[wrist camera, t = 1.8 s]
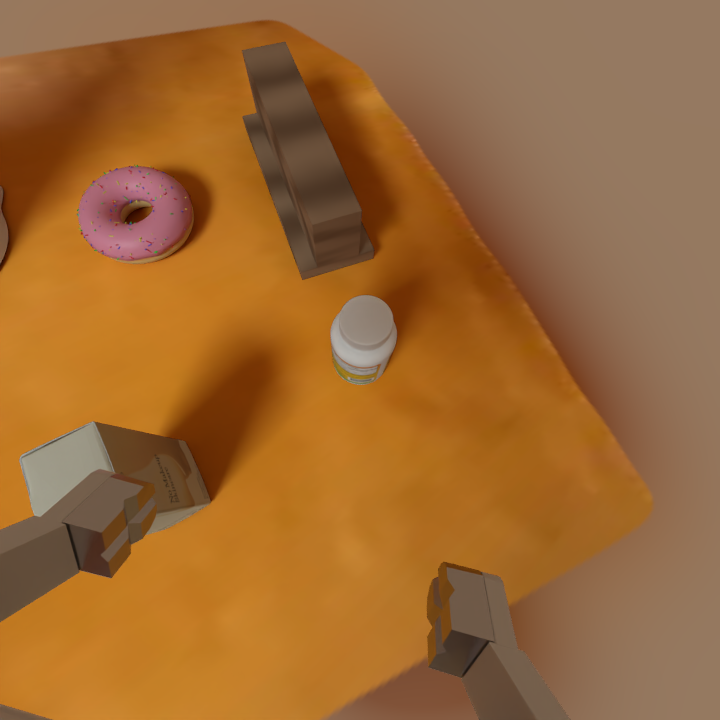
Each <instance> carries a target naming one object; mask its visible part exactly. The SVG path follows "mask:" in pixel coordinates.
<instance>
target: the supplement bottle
mask: <svg viewBox="0 0 720 720" xmlns="http://www.w3.org/2000/svg"><path fill="white" fill-rule="evenodd" d="M396 341H397V329H396V325H395V323H394V321H393V314H392V311H391V309H390V308H389V306H388V305H387V304H386V303H385V302H384V301H383V300H381V299H379V298H377V297H374V296H370V295H362V296H357V297H354V298H352V299H351V300H349V301H348V302H347V303H346V304H345V305H344V306H343V308H342V310H341V312H340V313H339V314H338V315H337V316H336V318H335V319H334V321H333V324H332V327H331V346H332V357H333V363H334V367H335V369H336V371H337V372H338V374H339V375H340V376H341V377H342V378H343V379H344V380H346V381H348V382H350V383H353V384H358V385H363V384H368V383H371V382H374V381H375V380H377V379H378V378H379V377H380V376H381V375H382V374H383V372H384V371H385V369H386V367H387V364H388V362H389V360H390V357H391V355H392V353H393V350H394V348H395V345H396Z"/></svg>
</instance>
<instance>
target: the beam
mask: <svg viewBox="0 0 720 720" xmlns="http://www.w3.org/2000/svg"><path fill="white" fill-rule="evenodd" d="M242 52H243V57H244V61H245V65H246V69H247V73H248V77H249V82H250V86H251V90H252V94H253V98H254V102H255V107H256V111H257V113H255V114H250V115H246V116H243V120H244V124H245V127H246V130H247V133H248V135H249V138H250V141H251V143H252V146H253V149H254V151H255V154H256V157H257V159H258V162H259V165H260V167H261V170H262V173H263V175H264V178H265V181H266V183H267V186H268V189H269V192H270V194H271V197H272V200H273V202H274V205H275V208H276V210H277V213H278V216H279V218H280V221H281V224H282V226H283V229H284V232H285V234H286V237H287V240H288V242H289V245H290V248H291V250H292V253H293V256H294V258H295V261H296V264H297V266H298V269H299V272H300V274H301V277H302V280H304V279H307V278H310V277H314V276H317V275H320V274H323V273H327V272H330V271H333V270H336V269H340V268H343V267H346V266H350V265H353V264H356V263H359V262H363V261H366V260H369V259H372V258H373V256H374V248H373V246H372V244H371V241H370V239H369V237H368V235H367V233H366V230H365V228H364V226H363V224H362V221H361V218H362V209H361V207H360V205H359V203H358V201H357V198H356V196H355V194H354V192H353V190H352V187H351V185H350V183H349V181H348V179H347V176H346V174H345V172H344V170H343V168H342V165H341V163H340V161H339V159H338V157H337V154H336V152H335V150H334V148H333V146H332V143H331V141H330V139H329V137H328V135H327V132H326V130H325V128H324V126H323V124H322V121H321V119H320V117H319V115H318V113H317V110H316V108H315V106H314V104H313V102H312V99H311V97H310V95H309V93H308V91H307V88H306V86H305V84H304V82H303V80H302V77H301V75H300V73H299V71H298V69H297V66H296V64H295V62H294V60H293V58H292V55H291V53H290V51H289V49H288V47H287V44H286V42H281V43H276V44H271V45H266V46H261V47H256V48H251V49H246V50H242Z"/></svg>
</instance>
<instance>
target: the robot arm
mask: <svg viewBox="0 0 720 720" xmlns="http://www.w3.org/2000/svg"><path fill="white" fill-rule="evenodd" d="M2 199H3V189H2V187H1V186H0V263H1V261H2V259H3V257H4V255H5V252H6V249H7V244H8V228H7V224H6V221H5V219H4V216H3V214H2V211H1V205H2ZM154 494H155V487H154V484H152V483H148V482H145V481H141V480H138V479H134V478H131V477H128V476H124V475H121V474H118V473H114V472H110V471H107V470H103V469H98V470H96V471H93V472H92V473H90V474H89V475H88V476H87V477H86V478H85V479H83V480H82V481H81V482H80V483H79V484H78V485H77V486H75V487H74V488H73V489H72V490H71V491H70V492H69V493H67V494H66V495H65V496H64V497H63V498H62V499H60V500H59V501H58V502H57V503H56V504H55V505H54V506H52V507H51V508H50V509H49V510H48V511H47V512H46V513H44V514H43V515H42V516H41V517H38V516H33V517H30V518H28V519H26V520H23V521H21V522H18V523H16V524H13V525H11V526H8V527H6V528H3V529H1V530H0V622H1V621H3V620H4V619H6V618H7V617H9V616H11V615H12V614H14V613H15V612H17V611H19V610H20V609H22V608H23V607H25V606H27V605H28V604H30V603H31V602H33V601H35V600H36V599H38V598H39V597H41V596H42V595H44V594H46V593H47V592H49V591H50V590H52V589H54V588H55V587H57V586H58V585H60V584H62V583H63V582H65V581H66V580H68V579H70V578H71V577H73V576H74V575H76V574H78V573H79V570H81V571H85V572H89V573H93V574H97V575H101V576H105V577H109V578H112V577H113V576H114V574H115V573H116V572H117V571H118V569H119V568H120V567H121V565H122V564H123V563H124V562H125V560H126V559H127V558H128V557H129V555H130V554H131V544H133V543H135V542H137V541H139V540H141V539H143V537H144V536H145V535H146V533H147V532H148V531H149V529H150V528H151V526H152V524H153V522H154V520H155V517H156V512H157V504H156V502H155V501H154V500H153V499H152V496H153V495H154ZM427 618H428V620H429V622H430V624H431V625H432V629H431V631H430V633H429V635H428V636H427V639H428V667H429V668H432V669H435V670H439V671H441V672H444V673H448V674H451V675H454V676H457V677H460V678H462V683H463V685H464V687H465V689H466V692H467V694H468V696H469V698H470V700H471V703H472V705H473V707H474V709H475V711H476V714H477V716H478V718H479V720H570V718H569V717H568V715H567V714H566V712H565V711H564V710H563V708H562V707H561V705H560V704H559V702H558V701H557V699H556V698H555V696H554V695H553V694H552V692H551V691H550V689H549V687H548V686H547V684H546V683H545V681H544V680H543V679H542V677H541V676H540V674H539V673H538V671H537V670H536V668H535V667H534V665H533V664H532V662H531V661H530V659H529V658H528V656H527V655H526V654H525V652H524V651H521V650H518V647H517V643H516V638H515V634H514V629H513V625H512V620H511V616H510V612H509V607H508V603H507V598H506V594H505V589H504V585H503V581H502V580H501V578H500V577H499V576H496V575H492V574H488V573H484V572H480V571H479V570H475V569H471V568H467V567H463V566H459V565H455V564H451V563H447V562H443V563H441V565H440V566H439V568H438V577H436V578H434V579H433V580H432V582H431V585H430V587H429V592H428V597H427ZM0 720H52V719H49V718H45V717H42V716H39V715H35V714H32V713H29V712H25V711H22V710H19V709H15V708H12V707H9V706H5V705H2V704H0Z"/></svg>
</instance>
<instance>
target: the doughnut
mask: <svg viewBox="0 0 720 720" xmlns="http://www.w3.org/2000/svg"><path fill="white" fill-rule="evenodd" d="M104 174H105V175H103V176H102V177H100V178H99V179H97V180H96V181H93V184H92V185H91V186H90V187H89V188H88V189H87V190H86V192H84V194H83V196H82V199H81V202H80V205H79V209H78V210H77V211H79V214H77V215H78V216H79V225H80V227H81V228H78V229H81V230H80V231H82V232H81V235H82V234H83V235H84V238H86V241H88V242H89V244H90V245H91V246H92V248H94V249H95V250H94V251H98V252H99V253H101V254H103V255H105V256H108V257H109V258H111V259H113V260H116V261H119V262H123V263H128V264H145V263H151V262H155V261H158V260H161V259H163V258H165V257H167V256H169V255H171V254H172V253H174V252H175V251H176V250H178V249H179V248H180V247H181V246H182V245H183V244H184V242H185V241H186V240H187V238H188V236H189V235H190V232H191V230H192V227H193V222H194V212H193V206H192V203H191V199H190V196H189V194H188V193H187V191H186V190H185V188H184V187H183V186H182V185H181V184H180V183H179V182H178V181H176V180H175V179H174V176H173V178H172V177H171V176H169V175H168V174H166V173H164V172H162V171H159V170H156V169H154V168H151V166H150V168H149V167H141V166H138V165H137V166H135V165H134V166H133V167H132V166H131V167H130V166H129V167H125V168H120V169H117V168H116V169H115V170H114V171H111V170H109V172H107V173H105V172H104ZM142 207H153V208H152V209H153V210H152V212H151V213H150V214H149V215H148V216H147V217H146V218H145V219H144V220H142V221H140V222H139V221H138V222H137V223H136V222H135V223H134V224H132V222H130V224H126V222H125V219H126V218H127V216H128V215H129V214H130V213H131V212H133V211H134V210H136V209H138V208H142ZM124 222H125V223H124Z"/></svg>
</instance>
